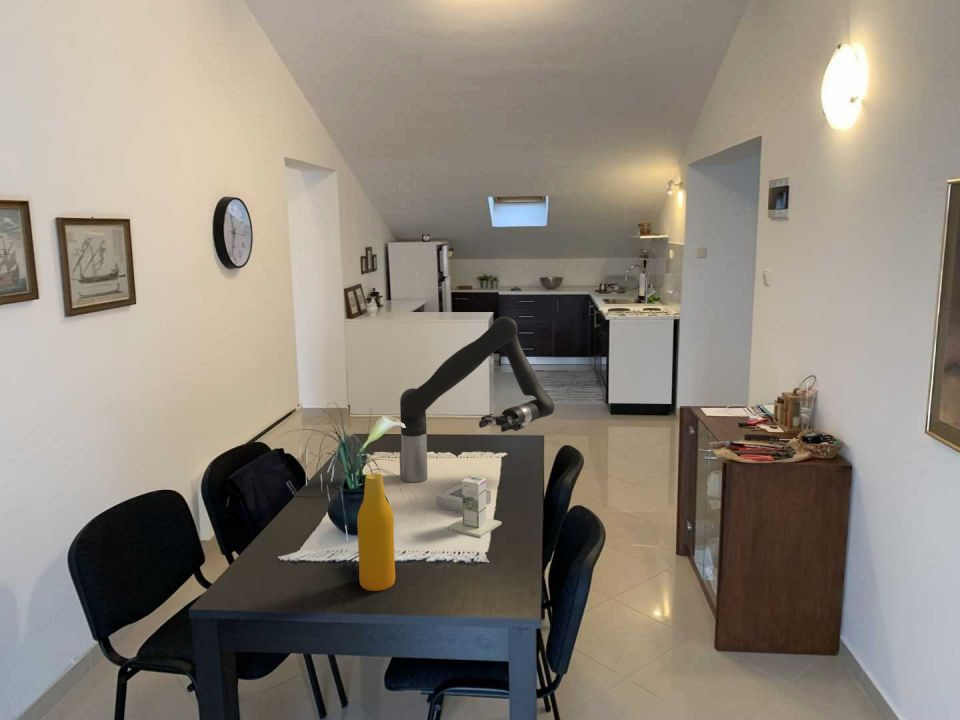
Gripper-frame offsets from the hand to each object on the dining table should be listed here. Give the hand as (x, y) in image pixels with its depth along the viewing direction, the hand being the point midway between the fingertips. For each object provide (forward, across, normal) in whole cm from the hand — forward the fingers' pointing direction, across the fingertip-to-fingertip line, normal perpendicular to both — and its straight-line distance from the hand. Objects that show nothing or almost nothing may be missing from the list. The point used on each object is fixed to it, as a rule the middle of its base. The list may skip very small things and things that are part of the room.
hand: (491, 426), depth 239 cm
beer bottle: (+63, +6, +28) cm, 69 cm away
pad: (+18, +7, +26) cm, 33 cm away
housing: (+6, -6, +27) cm, 28 cm away
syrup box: (+18, +6, +26) cm, 32 cm away
